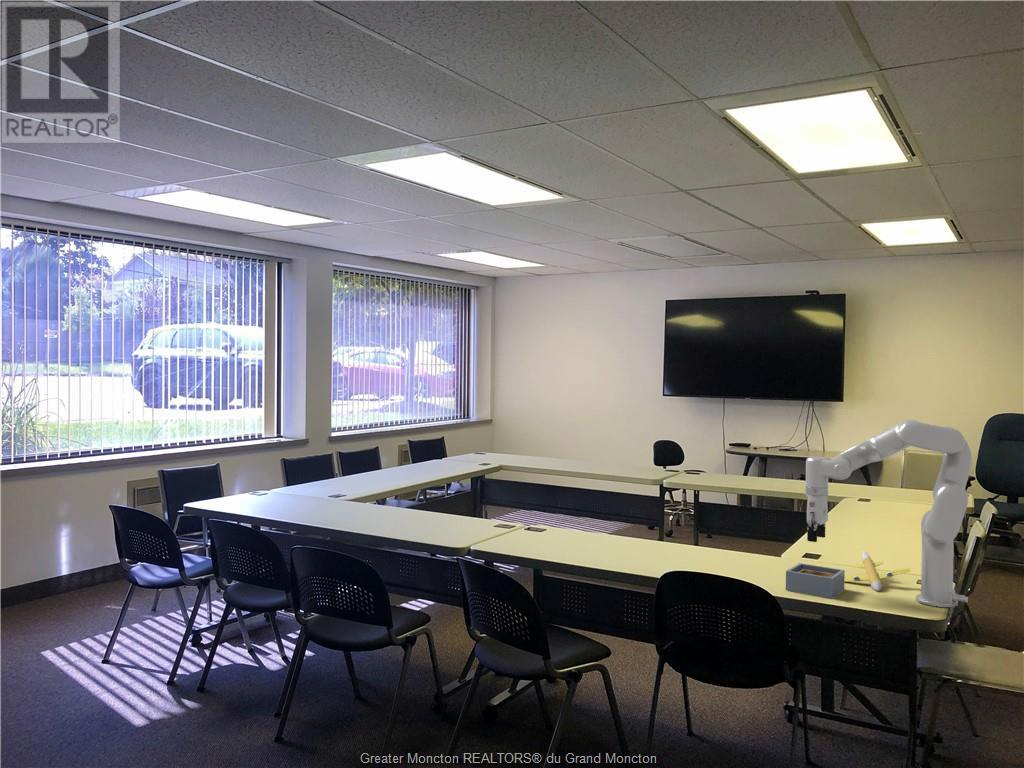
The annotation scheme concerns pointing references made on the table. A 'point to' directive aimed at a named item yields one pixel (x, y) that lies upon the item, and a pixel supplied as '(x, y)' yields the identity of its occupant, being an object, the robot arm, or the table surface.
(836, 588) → the blue-grey open box
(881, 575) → the toy jet
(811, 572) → the walnut crate
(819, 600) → the table surface
